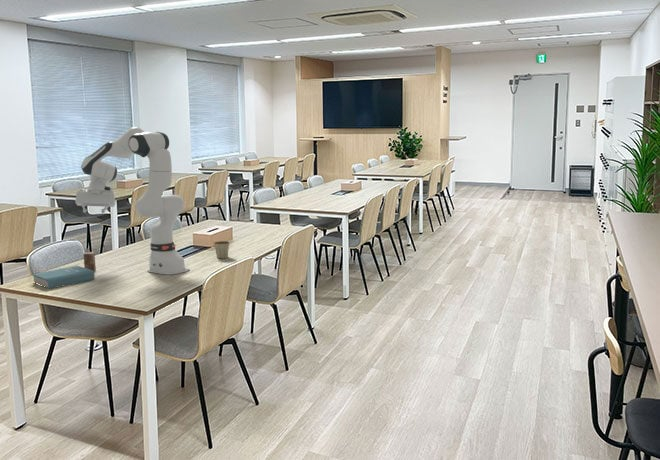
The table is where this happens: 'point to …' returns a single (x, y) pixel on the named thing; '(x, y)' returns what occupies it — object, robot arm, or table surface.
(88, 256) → the walnut block
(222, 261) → the table surface
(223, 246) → the flower pot
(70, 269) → the book
